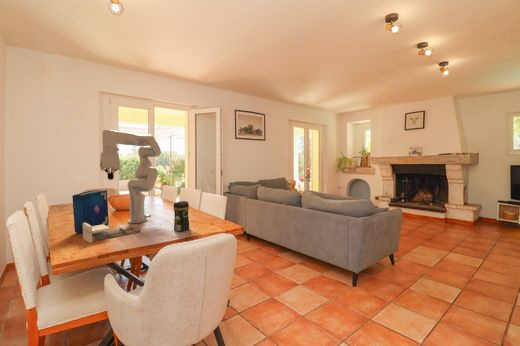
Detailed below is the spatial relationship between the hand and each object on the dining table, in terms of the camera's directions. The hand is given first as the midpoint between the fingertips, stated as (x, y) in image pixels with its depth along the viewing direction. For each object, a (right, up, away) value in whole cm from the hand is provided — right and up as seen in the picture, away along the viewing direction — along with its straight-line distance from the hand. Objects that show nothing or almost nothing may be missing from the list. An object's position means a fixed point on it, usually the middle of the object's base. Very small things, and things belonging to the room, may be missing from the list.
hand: (110, 179), depth 159 cm
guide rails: (+8, -33, -1) cm, 34 cm away
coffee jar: (+42, -33, +7) cm, 54 cm away
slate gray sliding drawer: (+3, -34, -7) cm, 35 cm away
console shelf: (-1, -34, -11) cm, 35 cm away
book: (-17, -33, +7) cm, 38 cm away
